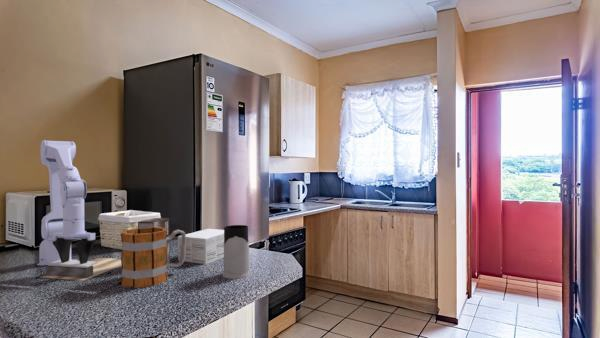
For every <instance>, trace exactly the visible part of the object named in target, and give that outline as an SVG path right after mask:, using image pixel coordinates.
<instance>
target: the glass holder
mask: <svg viewBox="0 0 600 338" xmlns="http://www.w3.org/2000/svg"><path fill="white" fill-rule="evenodd" d="M223 230H224V257H223V272H222V277H223V278H226V279H229V280H231V279H233V280H235V279H244V278H247V277H249V276H251V274H252V273H251V271H250V245H249V244H250V243H249V242H250V241H249V226H248V225H244V224H233V225H232V224H231V225H225V226H224V227H223Z"/></svg>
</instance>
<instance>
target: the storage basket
mask: <svg viewBox="0 0 600 338" xmlns="http://www.w3.org/2000/svg"><path fill="white" fill-rule="evenodd" d="M153 218H162V216H161V213H160V212H155V211H154V212H153V211H143V210H133V209H129V210H121V211H113V212H112V211H111V212H104V213H100V214H98V218H97V220H98V221H99V233H100V244H101V247H104V248H109V249H115V250H121V251H122V240H121V233H122V231H124V230H130V229H135V228H138V222H140V221H144V220H148V219H153Z"/></svg>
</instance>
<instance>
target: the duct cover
mask: <svg viewBox="0 0 600 338" xmlns="http://www.w3.org/2000/svg"><path fill="white" fill-rule="evenodd" d="M95 264H97V262H94V261H92V260H88V261H87V262H86V263H83V264H80V261H79V260H78V259H74V260H69V261H67V262H64V263H62V262H61V260H58V261H55V262H52V263H49V264H48V265H47V266H61V267H76V268H87V267H90V266H92V265H95Z"/></svg>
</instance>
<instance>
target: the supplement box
mask: <svg viewBox="0 0 600 338" xmlns="http://www.w3.org/2000/svg"><path fill="white" fill-rule="evenodd" d="M185 235H186V253H185V260H184V262H186V263H193V264H194V263H195V264H201V265H202V264H203V265H207V264H210V263H212V262H214V261H218V260H220V259H224V229H217V228H216V229H215V228H205V229H202V230H198V231H194V232H191V233H185ZM181 243H182V235H178V236H177V258H178V262H179V261H180V258H181Z"/></svg>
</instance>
